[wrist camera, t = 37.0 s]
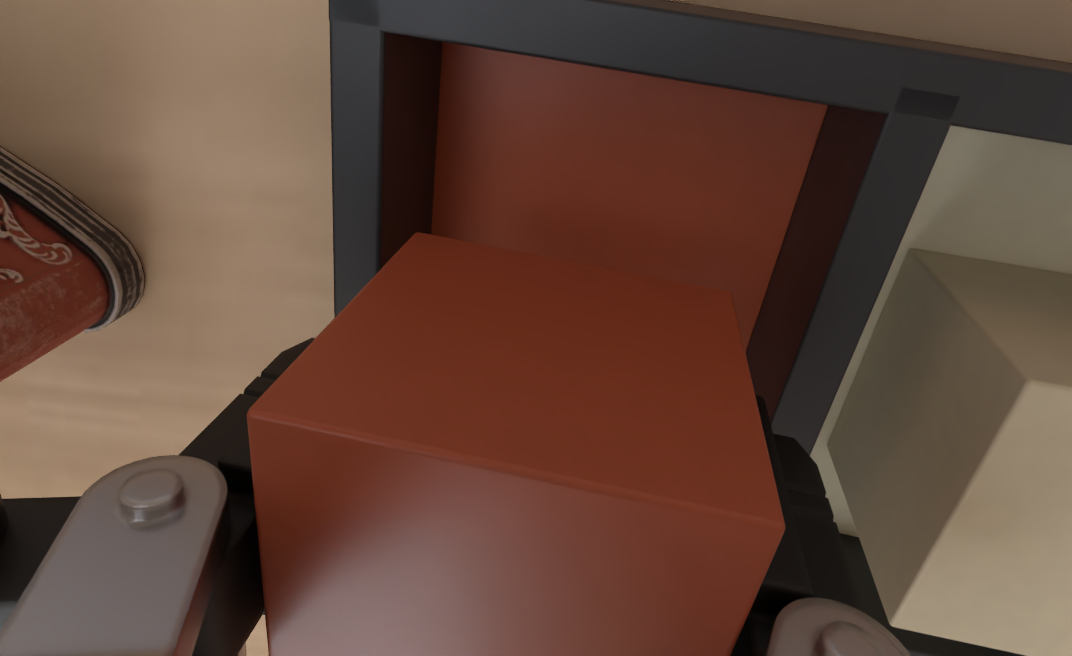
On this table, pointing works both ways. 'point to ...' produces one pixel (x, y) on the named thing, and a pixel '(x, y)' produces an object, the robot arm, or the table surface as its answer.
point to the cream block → (966, 453)
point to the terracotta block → (514, 466)
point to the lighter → (56, 267)
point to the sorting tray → (703, 170)
